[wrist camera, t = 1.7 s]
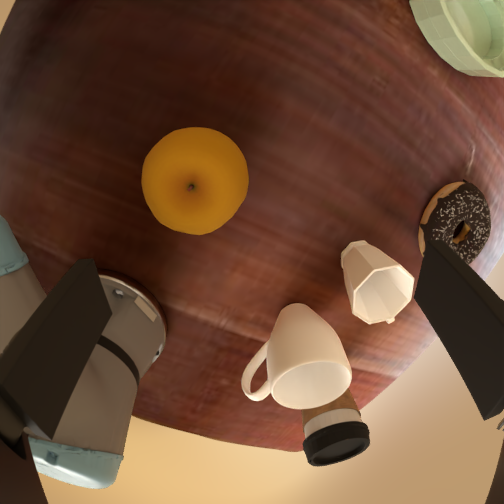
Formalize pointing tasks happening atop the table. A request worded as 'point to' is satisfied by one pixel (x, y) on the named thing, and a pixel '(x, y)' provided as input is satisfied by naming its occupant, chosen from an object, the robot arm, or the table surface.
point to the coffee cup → (334, 431)
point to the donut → (457, 220)
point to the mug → (301, 361)
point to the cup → (374, 283)
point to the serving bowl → (464, 33)
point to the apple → (194, 180)
